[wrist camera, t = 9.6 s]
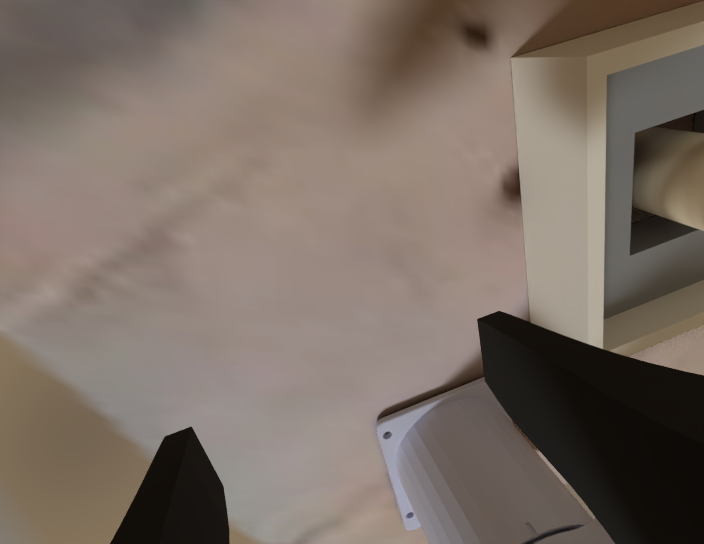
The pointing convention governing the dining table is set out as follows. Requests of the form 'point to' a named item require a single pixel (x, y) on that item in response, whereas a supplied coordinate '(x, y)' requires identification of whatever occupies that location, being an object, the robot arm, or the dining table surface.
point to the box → (607, 182)
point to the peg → (670, 174)
